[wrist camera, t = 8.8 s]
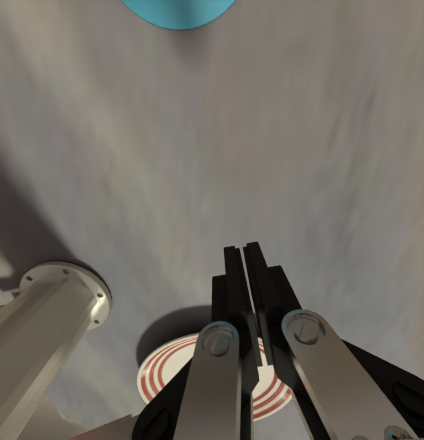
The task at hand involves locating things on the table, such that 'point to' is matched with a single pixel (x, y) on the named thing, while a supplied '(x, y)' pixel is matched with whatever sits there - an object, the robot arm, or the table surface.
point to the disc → (178, 12)
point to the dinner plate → (183, 351)
